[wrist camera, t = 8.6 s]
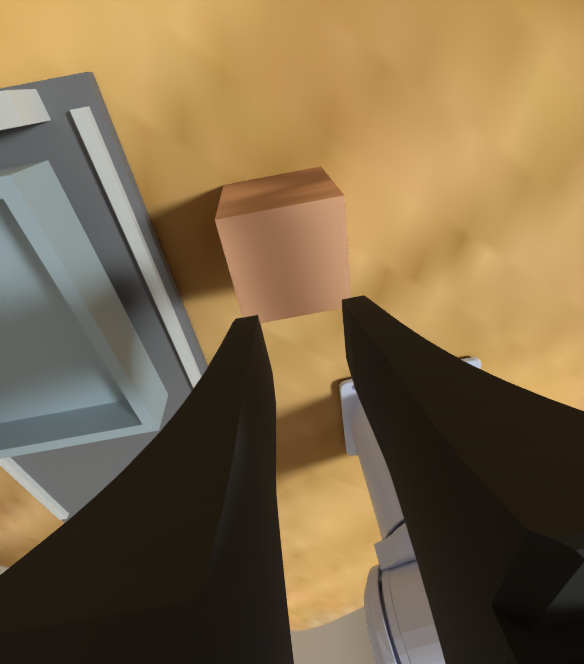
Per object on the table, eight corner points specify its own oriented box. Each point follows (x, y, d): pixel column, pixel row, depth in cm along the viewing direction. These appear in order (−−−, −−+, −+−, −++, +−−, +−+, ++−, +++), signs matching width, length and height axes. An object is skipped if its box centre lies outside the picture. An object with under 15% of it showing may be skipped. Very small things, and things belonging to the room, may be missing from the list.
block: (320, 166, 16) (344, 195, 12) (329, 257, 19) (351, 306, 15) (223, 184, 16) (214, 219, 12) (246, 272, 19) (245, 325, 15)
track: (92, 72, 13) (62, 70, 11) (253, 481, 30) (253, 512, 28) (-318, 150, 14) (-422, 163, 11) (66, 514, 30) (52, 547, 28)
